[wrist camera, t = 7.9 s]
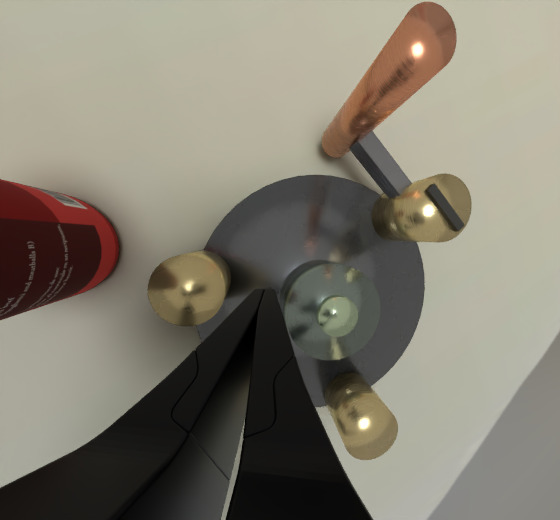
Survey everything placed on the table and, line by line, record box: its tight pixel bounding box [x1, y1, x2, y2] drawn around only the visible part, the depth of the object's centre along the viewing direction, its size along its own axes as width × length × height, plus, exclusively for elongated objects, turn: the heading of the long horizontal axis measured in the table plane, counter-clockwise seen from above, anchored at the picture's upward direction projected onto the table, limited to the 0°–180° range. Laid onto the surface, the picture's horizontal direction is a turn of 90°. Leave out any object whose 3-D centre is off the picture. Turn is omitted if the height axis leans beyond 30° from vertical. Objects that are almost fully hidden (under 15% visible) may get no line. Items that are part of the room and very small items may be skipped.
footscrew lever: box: [322, 2, 471, 242], centre depth 13 cm, size 11×4×8 cm, turn 45°
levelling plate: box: [148, 175, 425, 460], centre depth 16 cm, size 21×23×5 cm
